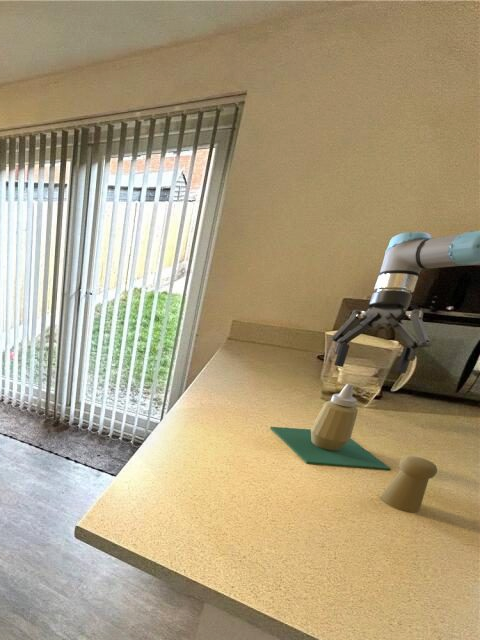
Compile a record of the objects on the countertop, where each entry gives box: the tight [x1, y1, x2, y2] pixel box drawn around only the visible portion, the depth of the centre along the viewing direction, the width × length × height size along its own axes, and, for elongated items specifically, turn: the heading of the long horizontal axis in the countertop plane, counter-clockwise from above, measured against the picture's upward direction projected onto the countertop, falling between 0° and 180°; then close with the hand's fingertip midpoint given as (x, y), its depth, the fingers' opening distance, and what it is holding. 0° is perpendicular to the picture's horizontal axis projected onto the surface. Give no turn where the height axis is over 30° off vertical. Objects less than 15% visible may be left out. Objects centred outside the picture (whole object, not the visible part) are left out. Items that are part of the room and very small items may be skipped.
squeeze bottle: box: [310, 382, 359, 451], centre depth 101 cm, size 8×8×18 cm
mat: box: [270, 426, 391, 471], centre depth 105 cm, size 18×18×1 cm
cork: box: [379, 455, 438, 513], centre depth 83 cm, size 6×6×11 cm
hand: (367, 369), depth 108 cm, fingers open, 13 cm apart
